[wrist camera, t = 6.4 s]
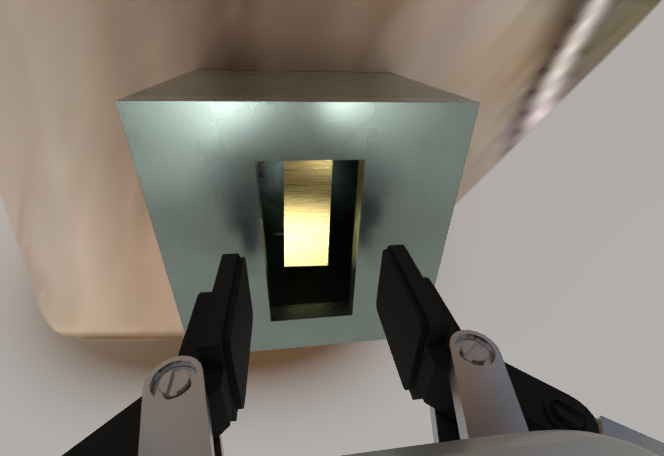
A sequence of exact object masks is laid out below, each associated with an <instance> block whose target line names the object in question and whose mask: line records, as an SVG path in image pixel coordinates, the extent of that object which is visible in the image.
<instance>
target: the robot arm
mask: <svg viewBox="0 0 664 456" xmlns="http://www.w3.org/2000/svg"><path fill="white" fill-rule="evenodd" d="M376 308H377V312H378V315H379V318H380V321H381V324H382V327H383V330H384V333H385V336H386V338H387V341H388V344H389V347H390V350H391V353H392V355H393V359H394V361H395V364H396V367H397V370H398V373H399V376H400V379H401V382H402V385H403V387H404V389H405V390H409V391H410V393H411V396H412V399H413V400H415V399H423V400H424V402H425V403H426V404H428V405H430V411H431V421H432V429H433V438H434V443H432V444H424V445H417V446H409V447H402V448H396V449H395V448H394V449H387V450H381V451H372V452H366V453H358V454H350V455H343V456H664V443H662V442H660V441H657V440H655V439H653V438H651V437H648V436H646V435H644V434H642V433H639V432H637V431H635V430H632V429H630V428H628V427H626V426H623V425H621V424H619V423H616V422H614V421H612V420H610V419H607V418H605V417H603V416H600V417H599V418H598V419H597V418H595V417H594V416H593V415H592V414H591V413H590V411H589V410H588V409H587V408H586V407H585V406H584V405H583V404H582V403H580V402H579V401H578V400H576V399H575V398H573V397H571V396H570V395H568V394H566V393H564V392H562V391H560V390H558V389H556V388H554V387H552V386H550V385H548V384H546V383H544V382H542V381H540V380H538V379H536V378H534V377H532V376H530V375H528V374H527V373H525V372H522V371H521V370H518V369H517V368H515V367H513V366H511V365H509V364H507V363H505V362H504V361H503V358H502V355H501V353H500V351H499V349H498V347H497V346H496V344H495V343H494V342H493V341H491V340H490V339H489V338H488V337H486V336H485V335H482V334H480V333H478V332H475V331H471V330H460V328H459V326H458V325H457V323H456V321H455V320H454V318H453V316H452V315H451V313H450V311H449V310H448V308H447V307H446V305H445V303H444V302H443V300H442V298H441V297H440V295H439V293H438V292H437V290H436V288H435V287H434V285H433V283H432V282H431V280H430V279H429V278H427V277H423V276H422V274H421V273H420V271H419V269H418V268H417V266H416V264H415V262H414V261H413V259H412V257H411V256H410V254H409V252H408V250H407V249H406V247H405V246H404V245H403V244H401V245H389V246H388V247H387V249H384V250H383V252H382V260H381V268H380V275H379V283H378V291H377V298H376ZM252 325H253V309H252V302H251V294H250V287H249V280H248V272H247V265H246V258H245V257H240V255H239V253H233V254H223V255H222V257H221V261H220V264H219V268H218V272H217V275H216V279H215V283H214V286H213V290H212V292H200V293H199V294H198V296H197V299H196V302H195V305H194V308H193V311H192V315H191V318H190V321H189V324H188V327H187V330H186V333H185V336H184V339H183V342H182V345H181V349H180V351H179V355H178V356H177V357H173V358H170V359H168V360H166V361H164V362H162V363H161V364H159V365H158V366H157V367H155V368H154V369H153V370H152V371H151V372H150V373H149V375H148V377H147V378H146V380H145V382H144V386H143V392H142V393H143V394H142V397H140V398H139V399H138V400H136V401H135V402H134V403H132V404H131V405H129V406H128V407H127V408H125V409H124V410H123V411H122V412H120V413H119V414H117V415H116V416H115V417H113V418H112V419H111V420H110V421H108V422H107V423H105V424H104V425H103V426H101V427H100V428H98V429H97V430H96V431H95V432H93V433H92V434H90V435H89V436H88V437H86V438H85V439H84V440H82V441H81V442H80V443H78V444H77V445H76V446H74V447H73V448H72V449H70V450H69V451H68V452H66V453H65V454H63V455H62V456H224V453H223V446H222V439H221V434H222V433H223V432H224V430H226V429H227V428H228V427H229V426H230V421H236V420H237V411H238V409H243V408H244V403H245V394H246V384H247V374H248V364H249V355H250V345H251V335H252Z"/></svg>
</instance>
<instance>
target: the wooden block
mask: <svg viewBox="0 0 664 456" xmlns="http://www.w3.org/2000/svg"><path fill="white" fill-rule="evenodd" d="M332 162H333V160H309V161H284V267H286V266H328V247H329V226H330V205H331V183H332Z"/></svg>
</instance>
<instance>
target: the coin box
mask: <svg viewBox="0 0 664 456" xmlns="http://www.w3.org/2000/svg"><path fill="white" fill-rule="evenodd" d="M115 102H116V105H117V108H118V112H119V115H120V118H121V122H122V125H123V128H124V132H125V135H126V138H127V142H128V145H129V148H130V152H131V155H132V158H133V162H134V165H135V168H136V172H137V175H138V178H139V182H140V185H141V188H142V192H143V195H144V198H145V202H146V205H147V208H148V212H149V215H150V218H151V222H152V225H153V228H154V232H155V235H156V238H157V242H158V245H159V249H160V252H161V255H162V259H163V262H164V265H165V269H166V272H167V275H168V279H169V282H170V285H171V289H172V292H173V295H174V299H175V302H176V305H177V309H178V312H179V315H180V319H181V322H182V325H183V329H184V332H185V333H186V330H187V327H188V324H189V321H190V318H191V315H192V311H193V308H194V305H195V302H196V299H197V296H198V294H199V293H200V292H212V290H213V286H214V283H215V279H216V275H217V272H218V268H219V264H220V261H221V257H222V255H223V254H233V253H239V255H240V257H245V258H246V265H247V272H248V280H249V287H250V294H251V302H252V309H253V325H252V335H251V345H250V351H261V350H272V349H283V348H294V347H305V346H316V345H327V344H337V343H348V342H359V341H369V340H381V339H387V338H386V336H385V333H384V330H383V327H382V324H381V321H380V318H379V315H378V312H377V308H376V298H377V291H378V283H379V275H380V268H381V260H382V252H383V250H384V249H387V247H388V246H389V245H401V244H403V245H404V246H405V247H406V249H407V250H408V252H409V254H410V256H411V257H412V259H413V261H414V262H415V264H416V266H417V268H418V269H419V271H420V273H421V274H422V276H423V277H427V278H429V279H430V280H431V282H432V283H433V285H434V286H435V282H436V278H437V274H438V270H439V266H440V262H441V258H442V253H443V250H444V245H445V241H446V237H447V233H448V229H449V225H450V221H451V217H452V213H453V209H454V205H455V201H456V197H457V193H458V189H459V185H460V181H461V177H462V173H463V169H464V165H465V160H466V156H467V152H468V148H469V144H470V140H471V136H472V132H473V128H474V124H475V120H476V116H477V112H478V108H479V104H480V103H479V102H476V101H473V100H470V99H467V98H464V97H461V96H458V95H455V94H452V93H449V92H446V91H443V90H440V89H437V88H434V87H431V86H429V85H426V84H423V83H420V82H417V81H414V80H411V79H408V78H405V77H402V76H399V75H396V74H393V73H382V72H324V71H266V70H208V69H196V70H193V71H191V72H188V73H186V74H183V75H181V76H178V77H176V78H173V79H170V80H168V81H165V82H163V83H160V84H158V85H155V86H152V87H150V88H147V89H145V90H142V91H140V92H137V93H135V94H132V95H129V96H127V97H124V98H122V99H119V100H117V101H115ZM309 160H333V162H332V183H331V205H330V226H329V247H328V266H286V267H284V161H309Z"/></svg>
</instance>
